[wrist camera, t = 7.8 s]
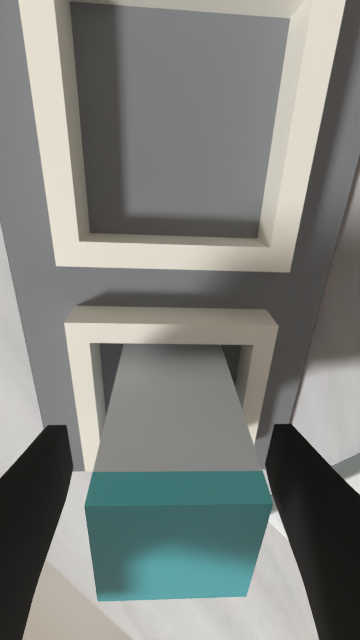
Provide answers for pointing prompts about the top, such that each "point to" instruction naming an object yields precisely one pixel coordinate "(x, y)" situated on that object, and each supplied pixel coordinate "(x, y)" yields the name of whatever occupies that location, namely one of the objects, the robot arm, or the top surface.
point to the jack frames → (176, 251)
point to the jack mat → (172, 182)
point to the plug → (175, 480)
